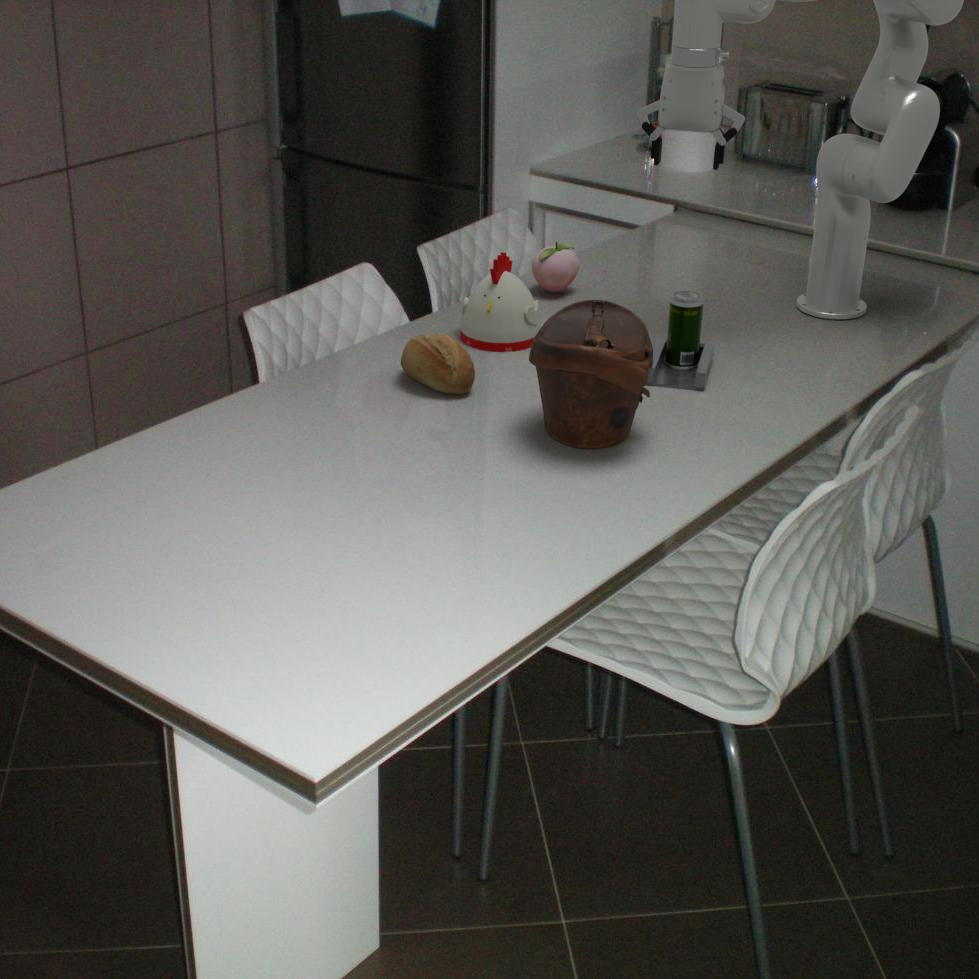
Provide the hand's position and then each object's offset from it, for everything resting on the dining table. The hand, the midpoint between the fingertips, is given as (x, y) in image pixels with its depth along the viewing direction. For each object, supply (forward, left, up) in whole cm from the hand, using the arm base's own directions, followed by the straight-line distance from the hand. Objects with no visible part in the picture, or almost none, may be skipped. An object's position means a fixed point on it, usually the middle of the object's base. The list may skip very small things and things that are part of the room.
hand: (686, 165), depth 225 cm
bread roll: (+30, -34, -31) cm, 55 cm away
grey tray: (+15, +3, -30) cm, 34 cm away
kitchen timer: (+7, -29, -31) cm, 43 cm away
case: (+41, -7, -31) cm, 52 cm away
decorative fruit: (-18, -25, -31) cm, 43 cm away
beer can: (+12, +3, -30) cm, 33 cm away
